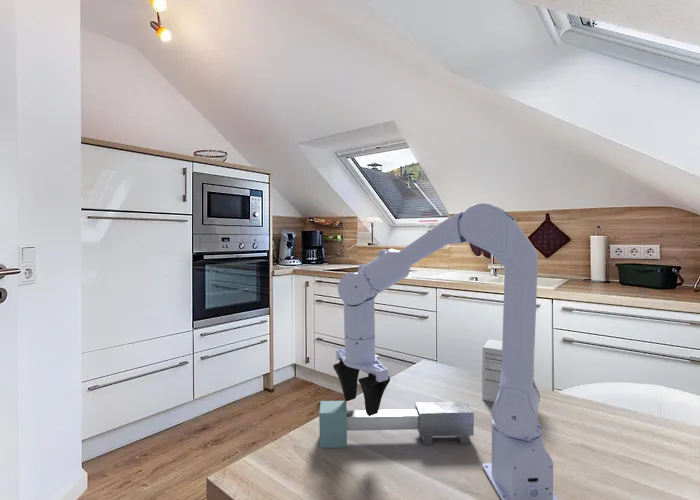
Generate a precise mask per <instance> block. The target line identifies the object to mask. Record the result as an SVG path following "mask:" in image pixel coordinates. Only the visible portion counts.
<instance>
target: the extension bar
mask: <svg viewBox="0 0 700 500" xmlns="http://www.w3.org/2000/svg"><path fill="white" fill-rule="evenodd" d="M417 429H419V413H418V410H417V409H414V408H413V409H412V408H411V409H407V408H406V409H379V410H378V414H375V415H372V416H368V415H367V413H366V409H365V410H364V409H363V410H361V409H357V410H356V409H354V410H353V409H352V410H351V409H350V410H348V409H347V432H348V431H349V432H350V431H354V432H355V431H397V430H399V431H400V430H402V431H404V430H406V431H407V430H417Z"/></svg>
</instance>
